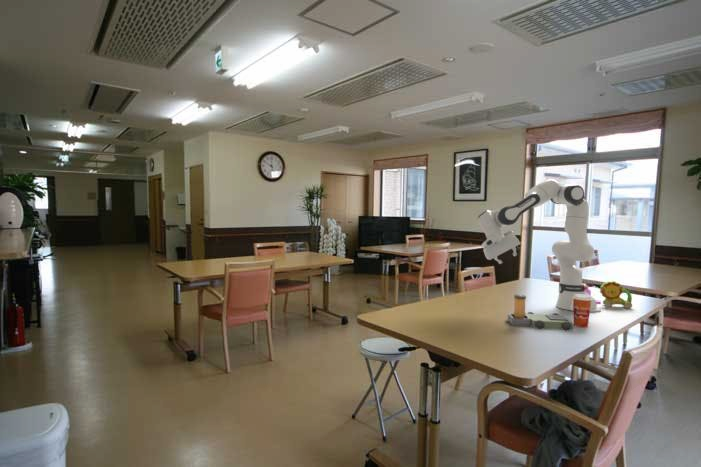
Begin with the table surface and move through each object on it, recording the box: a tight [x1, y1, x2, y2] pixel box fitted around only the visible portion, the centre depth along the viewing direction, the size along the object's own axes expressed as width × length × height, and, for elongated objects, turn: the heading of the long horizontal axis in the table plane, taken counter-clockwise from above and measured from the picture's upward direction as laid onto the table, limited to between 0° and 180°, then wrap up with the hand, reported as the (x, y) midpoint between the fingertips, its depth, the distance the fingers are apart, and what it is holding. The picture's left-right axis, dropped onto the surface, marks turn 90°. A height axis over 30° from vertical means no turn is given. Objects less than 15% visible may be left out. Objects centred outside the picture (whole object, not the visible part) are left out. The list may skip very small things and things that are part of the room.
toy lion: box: [599, 280, 633, 309], centre depth 229 cm, size 16×5×15 cm, turn 72°
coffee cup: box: [572, 294, 592, 328], centre depth 191 cm, size 8×8×15 cm
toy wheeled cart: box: [525, 311, 574, 331], centre depth 192 cm, size 18×16×4 cm
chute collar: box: [507, 313, 532, 327], centre depth 194 cm, size 9×9×4 cm
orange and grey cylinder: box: [513, 294, 527, 319], centre depth 194 cm, size 5×5×14 cm
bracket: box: [585, 288, 602, 305], centre depth 242 cm, size 13×6×7 cm, turn 12°
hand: (508, 259), depth 218 cm, fingers open, 8 cm apart
